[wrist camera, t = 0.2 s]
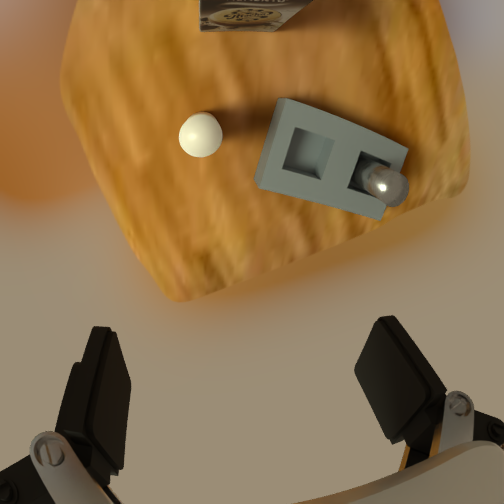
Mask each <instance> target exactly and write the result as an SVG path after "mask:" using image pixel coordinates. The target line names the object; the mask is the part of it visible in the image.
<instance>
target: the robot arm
mask: <svg viewBox="0 0 504 504" xmlns="http://www.w3.org/2000/svg"><path fill="white" fill-rule="evenodd" d="M354 371H355V375H356V377H357V379H358V381H359V383H360V385H361V387H362V389H363V391H364V393H365V395H366V397H367V399H368V401H369V403H370V405H371V408H372V409H373V412H374V414H375V416H376V418H377V420H378V422H379V424H380V426H381V428H382V430H383V433H384V435H385V437H386V438H387V439H390V441H391V443H392V444H395V443H398V442H400V441H403V440H405V442H406V447H405V450H404V454H403V457H402V461H401V464H400V467H399V471H398V472H397V473H394V474H392V475H389V476H387V477H384V478H381V479H379V480H376V481H373V482H370V483H368V484H365V485H362V486H359V487H356V488H352V489H349V490H346V491H343V492H339V493H336V494H332V495H328V496H324V497H321V498H316V499H312V500H308V501H303V502H298V503H293V504H504V423H503V422H502V421H501V420H500V419H498V418H495V417H492V416H490V415H487V414H484V413H481V412H479V411H476V410H474V404H473V402H472V400H471V399H470V397H469V396H468V395H466V394H465V393H463V392H461V391H452V392H450V393H449V394H448V395H447V396H446V394H445V393H446V391H447V389H446V387H445V386H444V384H443V383H442V381H441V380H440V378H439V377H438V375H437V374H436V373H435V371H434V370H433V368H432V367H431V365H430V364H429V363H428V361H427V360H426V358H425V357H424V355H423V354H422V353H421V351H420V350H419V348H418V347H417V345H416V344H415V343H414V341H413V340H412V339H411V337H410V336H409V334H408V333H407V332H406V330H405V329H404V328H403V326H402V325H401V324H400V323H399V321H398V320H397V318H396V317H395V316H393V315H391V316H384V317H380V318H378V320H377V321H376V322H375V323H374V325H373V328H372V330H371V332H370V335H369V337H368V339H367V341H366V344H365V346H364V348H363V350H362V352H361V354H360V357H359V359H358V361H357V363H356V365H355V369H354ZM130 393H131V380H130V377H129V374H128V371H127V367H126V364H125V361H124V358H123V355H122V351H121V348H120V344H119V341H118V337H117V334H116V332H112V331H111V328H110V327H99V326H94V327H93V328H92V331H91V334H90V336H89V340H88V342H87V345H86V348H85V352H84V355H83V358H82V361H81V362H75V363H74V365H73V367H72V369H71V373H70V376H69V379H68V382H67V386H66V389H65V393H64V396H63V400H62V403H61V407H60V411H59V415H58V420H57V423H56V427H55V432H53V431H45V432H42V433H40V434H38V435H37V436H35V438H34V439H33V440H32V442H31V445H30V455H28V456H26V457H25V458H23V459H21V460H20V461H18V462H16V463H14V464H13V465H11V466H9V467H8V468H6V469H4V470H2V471H1V472H0V504H123V503H122V502H121V500H120V499H119V498H118V497H117V495H116V494H115V493H114V492H113V490H112V489H111V488H110V487H109V484H110V475H115V476H118V473H119V470H122V469H123V467H124V454H125V441H126V430H127V420H128V410H129V402H130Z"/></svg>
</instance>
